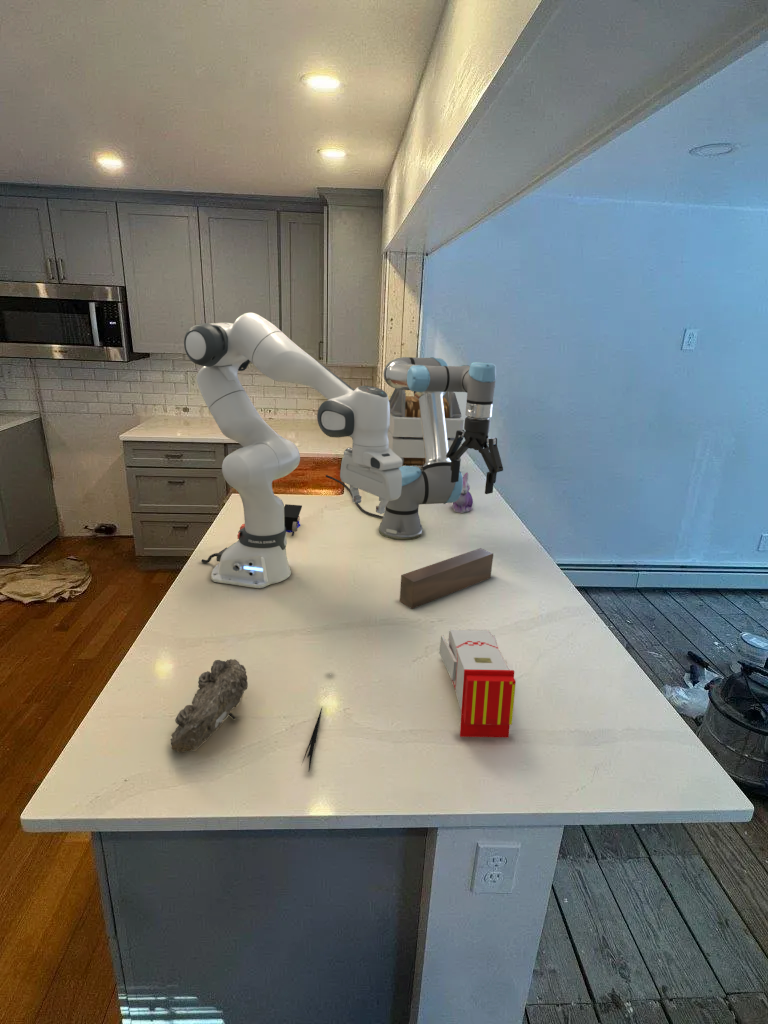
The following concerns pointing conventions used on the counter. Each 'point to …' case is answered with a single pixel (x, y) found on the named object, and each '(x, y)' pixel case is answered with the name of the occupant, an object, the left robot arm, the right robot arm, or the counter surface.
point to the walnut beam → (445, 577)
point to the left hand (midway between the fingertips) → (368, 507)
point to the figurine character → (291, 517)
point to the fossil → (210, 704)
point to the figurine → (464, 498)
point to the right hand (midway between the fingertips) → (471, 487)
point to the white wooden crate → (417, 426)
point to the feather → (313, 740)
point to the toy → (479, 682)
